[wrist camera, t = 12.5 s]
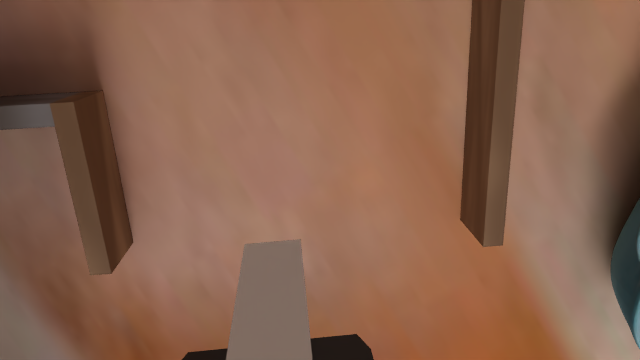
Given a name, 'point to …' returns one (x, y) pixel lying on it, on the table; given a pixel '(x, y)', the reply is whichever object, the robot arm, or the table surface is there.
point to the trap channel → (479, 150)
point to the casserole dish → (628, 271)
